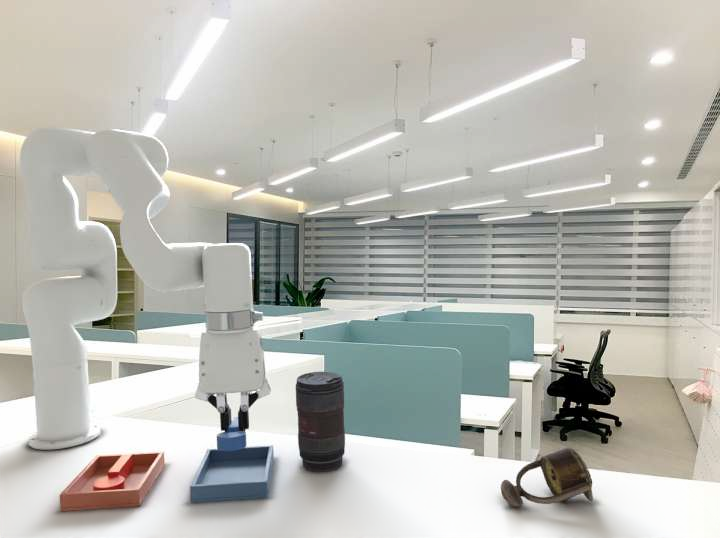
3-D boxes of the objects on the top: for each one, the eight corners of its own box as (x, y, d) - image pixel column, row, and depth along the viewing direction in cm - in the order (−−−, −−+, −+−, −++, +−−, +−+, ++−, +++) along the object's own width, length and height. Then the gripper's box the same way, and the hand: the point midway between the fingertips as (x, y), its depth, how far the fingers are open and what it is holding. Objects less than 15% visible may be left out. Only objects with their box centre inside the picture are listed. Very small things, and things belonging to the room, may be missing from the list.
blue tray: (208, 463, 101) (207, 449, 100) (273, 459, 101) (273, 445, 101) (190, 503, 86) (189, 486, 86) (267, 498, 87) (266, 481, 87)
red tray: (97, 469, 99) (96, 455, 99) (164, 465, 100) (164, 451, 100) (60, 511, 84) (59, 494, 84) (139, 506, 85) (138, 489, 85)
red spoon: (119, 499, 86) (118, 482, 86) (89, 501, 86) (88, 484, 86) (141, 469, 98) (140, 453, 97) (114, 470, 97) (113, 455, 97)
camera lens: (289, 470, 97) (286, 381, 96) (311, 452, 104) (308, 369, 103) (334, 476, 94) (331, 385, 93) (353, 457, 101) (351, 372, 100)
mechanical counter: (604, 482, 77) (592, 439, 86) (505, 467, 79) (503, 427, 89) (596, 526, 79) (585, 480, 88) (500, 511, 82) (499, 467, 91)
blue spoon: (244, 450, 88) (244, 432, 88) (214, 452, 87) (214, 434, 87) (252, 431, 99) (251, 416, 99) (225, 433, 98) (225, 417, 98)
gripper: (280, 315, 97) (285, 423, 99) (184, 319, 96) (190, 429, 97) (278, 322, 90) (283, 439, 91) (173, 327, 89) (180, 445, 90)
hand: (235, 433), depth 94 cm, fingers closed on blue spoon, 1 cm apart
